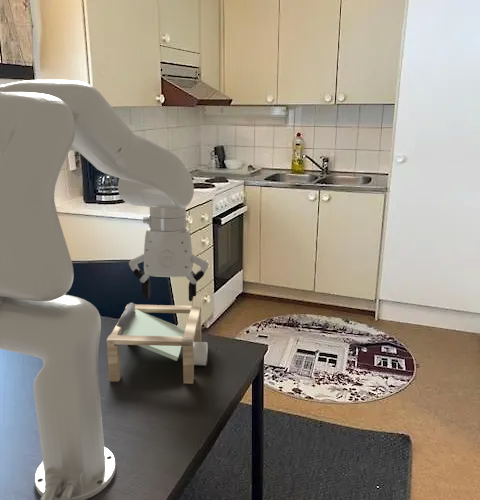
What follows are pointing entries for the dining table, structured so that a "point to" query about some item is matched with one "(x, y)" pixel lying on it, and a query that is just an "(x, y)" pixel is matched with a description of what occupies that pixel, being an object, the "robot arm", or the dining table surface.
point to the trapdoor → (150, 330)
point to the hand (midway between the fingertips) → (169, 298)
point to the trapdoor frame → (158, 339)
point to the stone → (200, 353)
